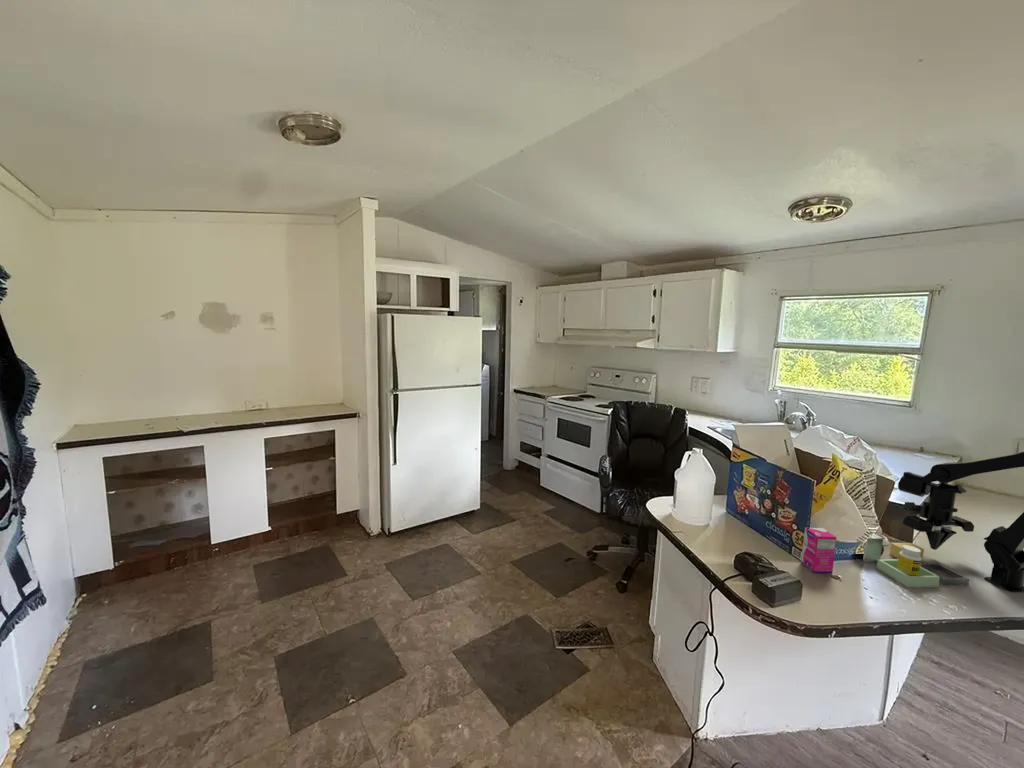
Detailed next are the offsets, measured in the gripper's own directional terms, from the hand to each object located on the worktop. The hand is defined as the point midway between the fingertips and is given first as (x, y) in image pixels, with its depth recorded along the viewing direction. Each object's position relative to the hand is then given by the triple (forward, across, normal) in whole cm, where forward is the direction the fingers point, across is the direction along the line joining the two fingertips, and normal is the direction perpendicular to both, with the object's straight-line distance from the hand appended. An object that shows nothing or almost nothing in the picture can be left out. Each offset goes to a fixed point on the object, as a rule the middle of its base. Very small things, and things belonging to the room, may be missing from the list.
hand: (933, 549), depth 136 cm
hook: (+3, +8, -12) cm, 15 cm away
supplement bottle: (+2, +21, +11) cm, 24 cm away
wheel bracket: (+3, +22, 0) cm, 22 cm away
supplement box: (+3, +44, +5) cm, 45 cm away
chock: (+3, +9, 0) cm, 10 cm away
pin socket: (+3, +10, +11) cm, 15 cm away
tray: (+3, +21, +11) cm, 24 cm away
